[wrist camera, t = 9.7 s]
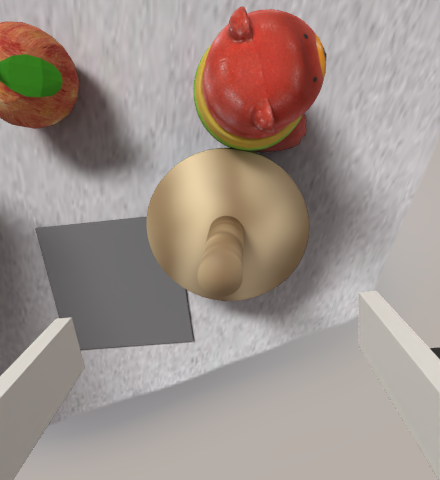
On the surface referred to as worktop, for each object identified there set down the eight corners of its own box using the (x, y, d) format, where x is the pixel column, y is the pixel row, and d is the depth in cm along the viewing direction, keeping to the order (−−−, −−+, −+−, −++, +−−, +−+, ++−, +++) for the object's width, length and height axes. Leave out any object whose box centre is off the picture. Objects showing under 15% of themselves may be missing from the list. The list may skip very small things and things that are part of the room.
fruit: (78, 145, 37) (24, 148, 28) (-7, 101, 36) (-94, 89, 27) (108, 66, 35) (60, 39, 25) (18, 17, 34) (-67, -30, 24)
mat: (69, 349, 45) (68, 350, 44) (36, 228, 40) (35, 228, 40) (193, 339, 43) (193, 341, 43) (174, 213, 39) (173, 214, 39)
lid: (161, 299, 37) (136, 362, 28) (135, 154, 31) (93, 180, 22) (307, 293, 35) (325, 358, 27) (308, 140, 29) (333, 162, 21)
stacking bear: (308, 144, 36) (373, 151, 19) (212, 163, 37) (193, 186, 20) (294, 29, 33) (355, -84, 16) (191, 52, 34) (147, -30, 17)
